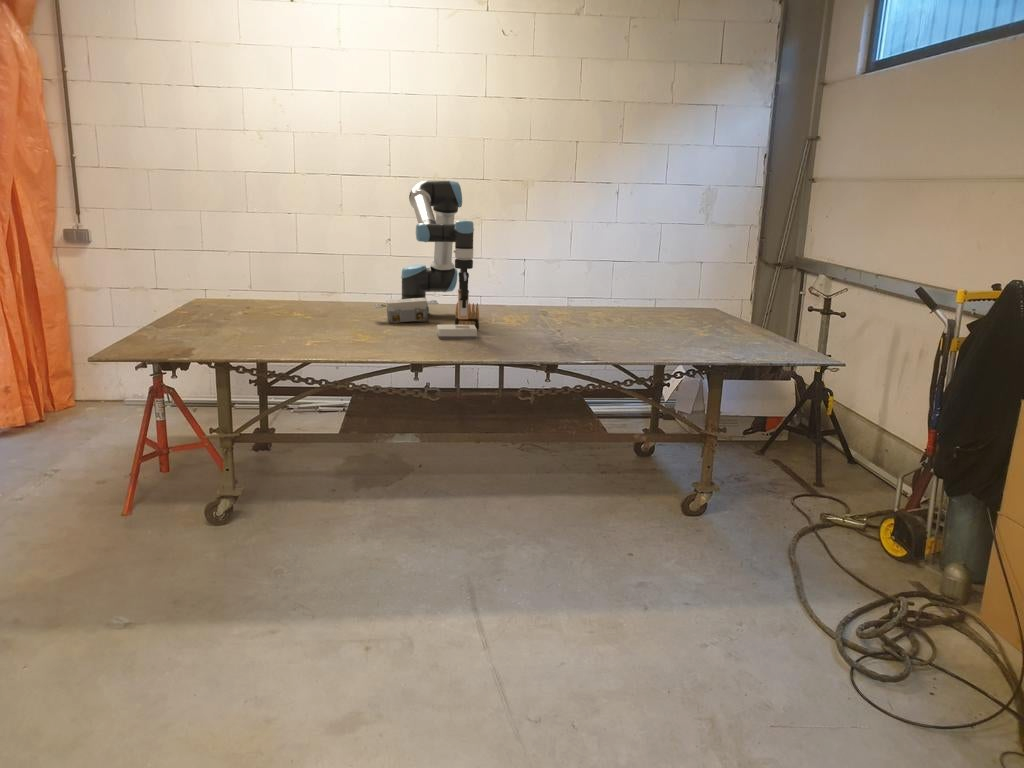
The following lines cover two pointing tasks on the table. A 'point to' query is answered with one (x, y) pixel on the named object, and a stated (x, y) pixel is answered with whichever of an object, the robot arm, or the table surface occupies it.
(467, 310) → the copper brown rectangular block
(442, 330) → the socket plate
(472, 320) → the ammunition clip
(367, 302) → the table surface
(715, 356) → the table surface
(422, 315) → the electrical outlet
